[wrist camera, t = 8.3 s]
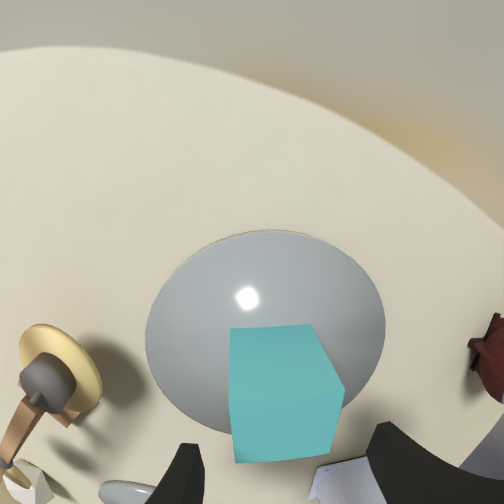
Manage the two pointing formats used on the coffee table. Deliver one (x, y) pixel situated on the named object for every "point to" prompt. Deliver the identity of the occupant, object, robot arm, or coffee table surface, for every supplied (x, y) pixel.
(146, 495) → the grey round disc
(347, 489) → the robot arm
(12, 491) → the die
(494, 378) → the mate gourd
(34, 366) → the balance
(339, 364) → the dish low side
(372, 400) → the coffee table surface
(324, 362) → the block
